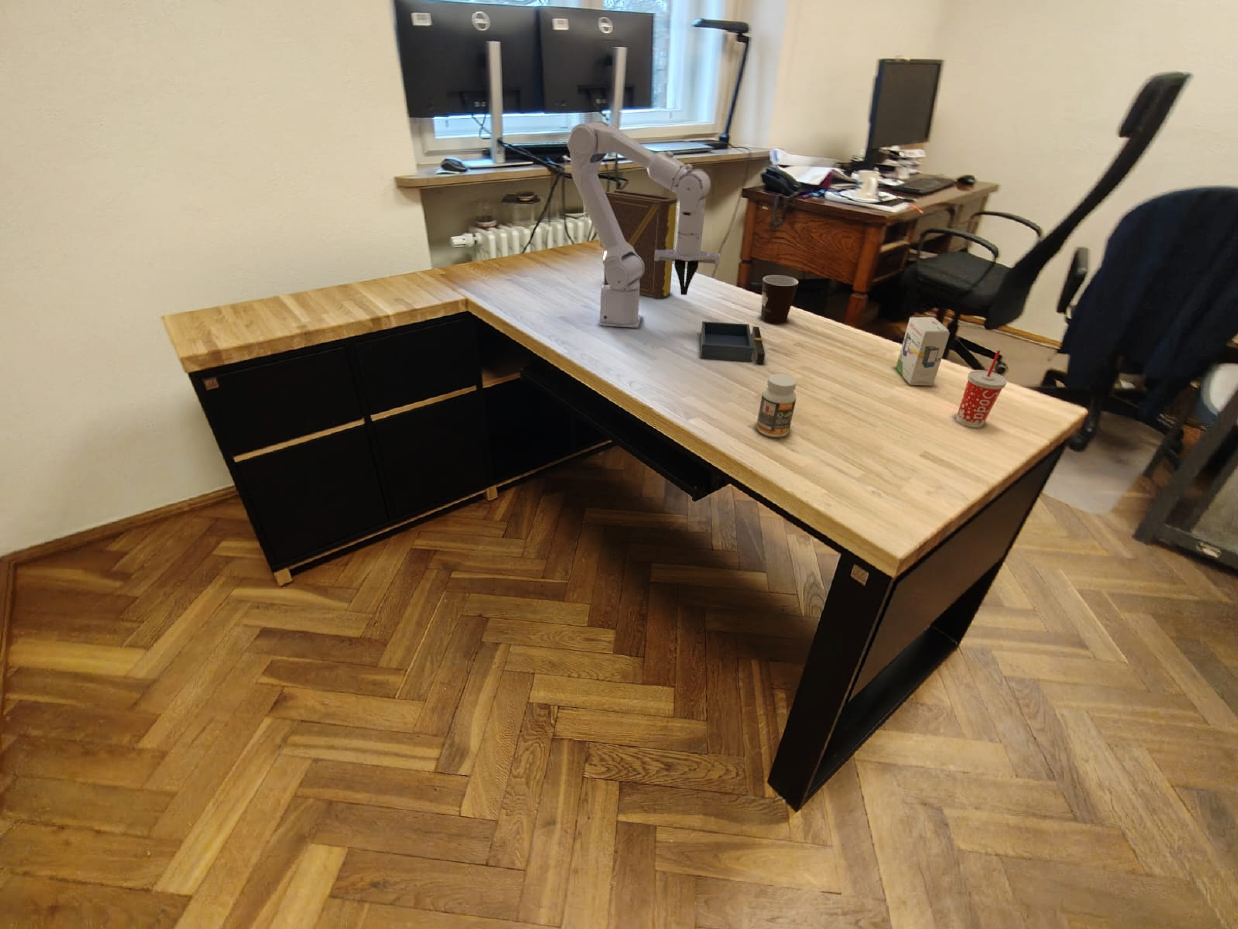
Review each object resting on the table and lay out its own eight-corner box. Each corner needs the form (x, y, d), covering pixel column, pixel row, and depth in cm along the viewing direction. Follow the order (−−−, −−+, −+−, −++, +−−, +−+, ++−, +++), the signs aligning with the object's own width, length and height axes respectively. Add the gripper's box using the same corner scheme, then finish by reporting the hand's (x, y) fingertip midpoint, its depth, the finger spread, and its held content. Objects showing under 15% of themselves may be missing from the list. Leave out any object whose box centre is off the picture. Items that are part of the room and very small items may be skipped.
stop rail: (755, 363, 127) (757, 352, 125) (750, 336, 140) (752, 325, 139) (763, 364, 127) (765, 353, 125) (757, 336, 140) (759, 326, 138)
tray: (700, 358, 129) (702, 344, 127) (700, 334, 140) (702, 321, 138) (750, 361, 128) (753, 347, 126) (746, 337, 139) (749, 324, 137)
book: (674, 292, 165) (681, 197, 151) (659, 300, 159) (666, 202, 145) (609, 278, 175) (610, 187, 161) (593, 285, 169) (593, 191, 155)
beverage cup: (952, 425, 107) (981, 354, 99) (949, 410, 112) (977, 341, 104) (989, 432, 105) (1022, 360, 97) (985, 416, 110) (1015, 347, 102)
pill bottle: (778, 442, 101) (789, 390, 95) (749, 430, 104) (758, 379, 98) (794, 429, 104) (805, 379, 99) (766, 418, 107) (775, 369, 102)
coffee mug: (791, 326, 146) (799, 287, 140) (756, 323, 147) (762, 284, 141) (789, 311, 155) (797, 273, 149) (756, 308, 156) (762, 270, 151)
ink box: (933, 386, 120) (953, 331, 113) (908, 385, 120) (926, 330, 113) (917, 368, 127) (934, 316, 120) (893, 367, 127) (909, 315, 120)
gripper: (654, 234, 125) (651, 296, 133) (723, 238, 124) (715, 301, 131) (657, 227, 131) (653, 287, 138) (722, 230, 129) (715, 291, 137)
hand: (683, 293), depth 135 cm, fingers closed
